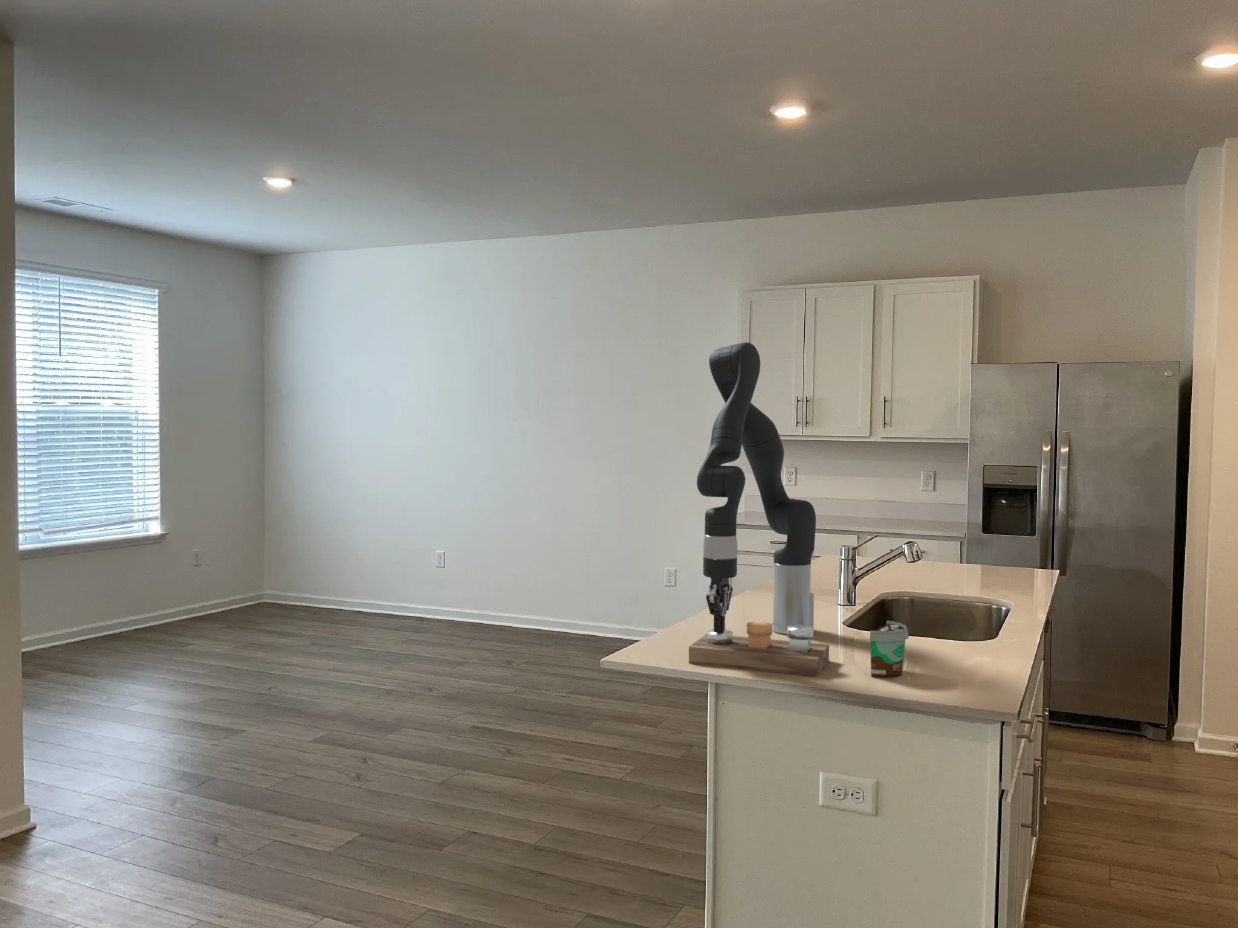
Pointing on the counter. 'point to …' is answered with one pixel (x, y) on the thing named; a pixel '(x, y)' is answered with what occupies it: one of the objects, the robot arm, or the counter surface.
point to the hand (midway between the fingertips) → (719, 631)
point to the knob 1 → (720, 637)
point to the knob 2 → (800, 638)
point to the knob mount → (760, 656)
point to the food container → (888, 650)
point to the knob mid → (759, 634)
